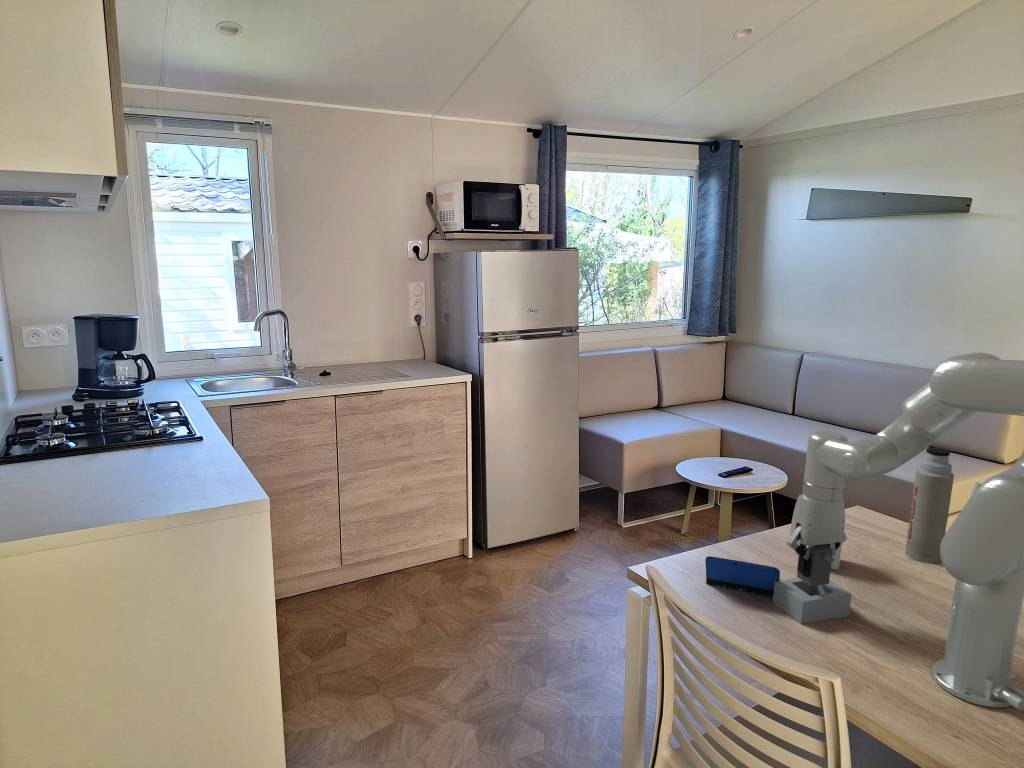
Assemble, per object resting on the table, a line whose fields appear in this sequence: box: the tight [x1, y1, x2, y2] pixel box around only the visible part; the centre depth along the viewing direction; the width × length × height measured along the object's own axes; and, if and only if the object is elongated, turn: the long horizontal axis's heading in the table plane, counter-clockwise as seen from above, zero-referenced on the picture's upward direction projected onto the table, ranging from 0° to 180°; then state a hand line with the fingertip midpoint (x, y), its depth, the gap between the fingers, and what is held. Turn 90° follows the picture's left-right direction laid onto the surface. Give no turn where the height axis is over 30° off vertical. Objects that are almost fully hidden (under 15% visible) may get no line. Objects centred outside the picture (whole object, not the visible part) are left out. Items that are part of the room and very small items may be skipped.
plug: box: [796, 544, 834, 586], centre depth 141 cm, size 4×7×8 cm, turn 16°
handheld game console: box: [704, 556, 781, 598], centre depth 153 cm, size 16×13×9 cm
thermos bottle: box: [904, 447, 955, 564], centre depth 168 cm, size 8×8×28 cm
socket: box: [772, 577, 853, 625], centre depth 144 cm, size 9×12×5 cm
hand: (813, 571), depth 143 cm, fingers closed on plug, 4 cm apart
